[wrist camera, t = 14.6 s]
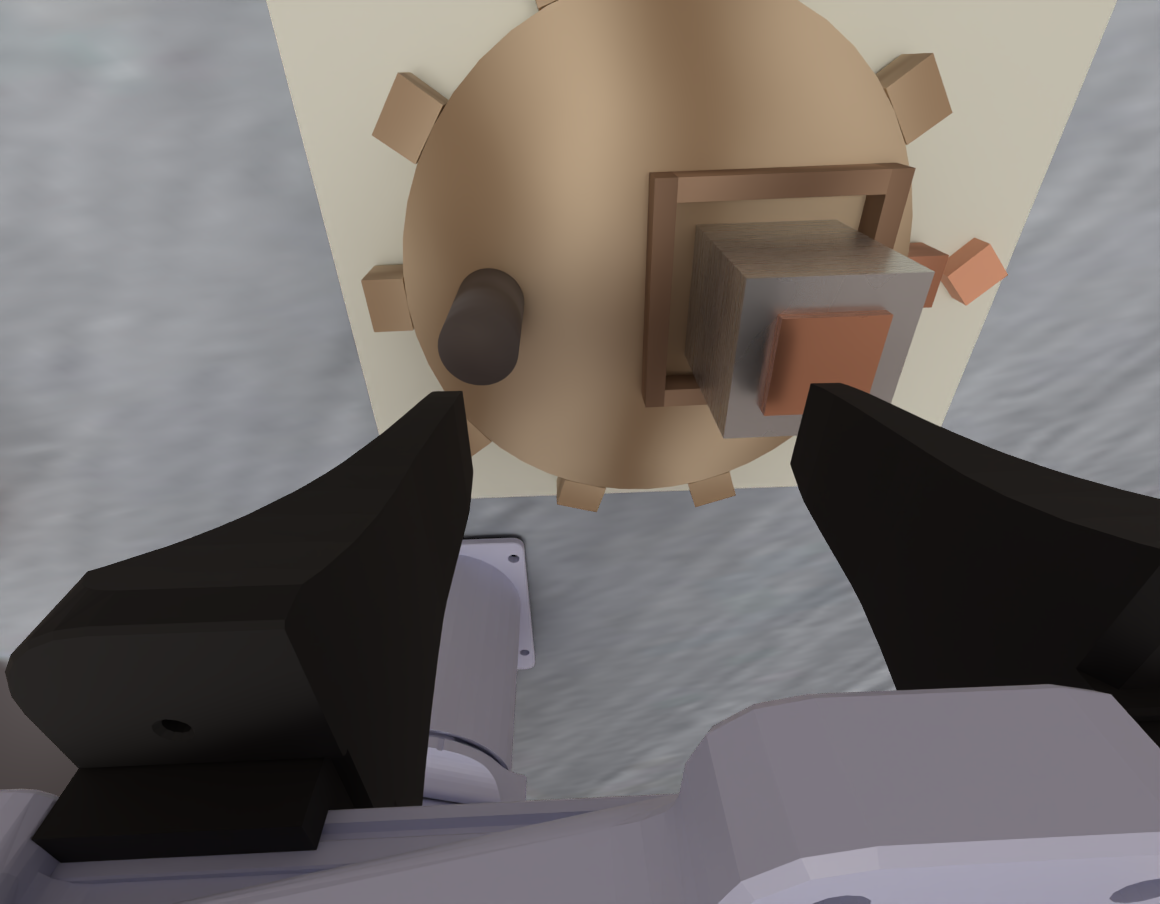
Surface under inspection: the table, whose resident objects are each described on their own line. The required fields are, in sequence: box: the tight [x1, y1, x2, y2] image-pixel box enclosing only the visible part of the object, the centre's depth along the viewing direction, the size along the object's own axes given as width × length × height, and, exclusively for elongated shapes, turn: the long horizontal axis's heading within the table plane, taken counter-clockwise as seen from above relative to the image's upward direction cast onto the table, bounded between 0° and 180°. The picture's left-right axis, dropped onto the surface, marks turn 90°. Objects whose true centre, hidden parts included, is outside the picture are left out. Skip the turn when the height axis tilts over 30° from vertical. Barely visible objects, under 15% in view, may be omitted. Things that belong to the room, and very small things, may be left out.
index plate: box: [266, 0, 1117, 498], centre depth 18 cm, size 18×22×2 cm
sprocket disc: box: [361, 0, 953, 512], centre depth 16 cm, size 17×17×5 cm
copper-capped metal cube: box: [684, 219, 935, 439], centre depth 15 cm, size 4×4×5 cm
